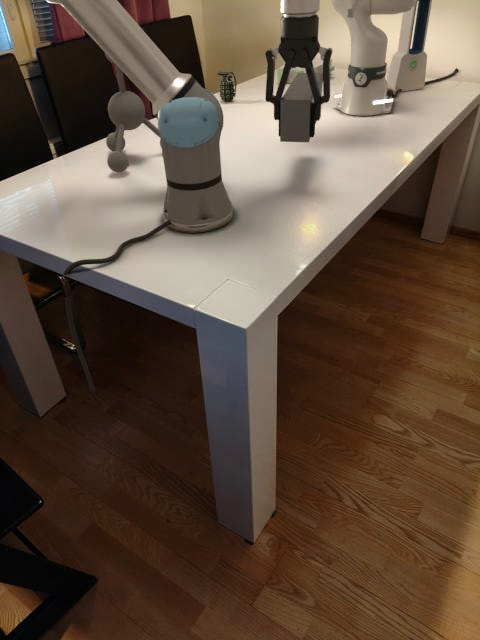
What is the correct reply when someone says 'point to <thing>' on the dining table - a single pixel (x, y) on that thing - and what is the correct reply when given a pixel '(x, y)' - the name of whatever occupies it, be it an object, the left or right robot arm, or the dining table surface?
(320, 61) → the decorative block
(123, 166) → the molecular model
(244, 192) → the dining table surface
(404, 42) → the electronic device
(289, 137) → the box
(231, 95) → the grenade
